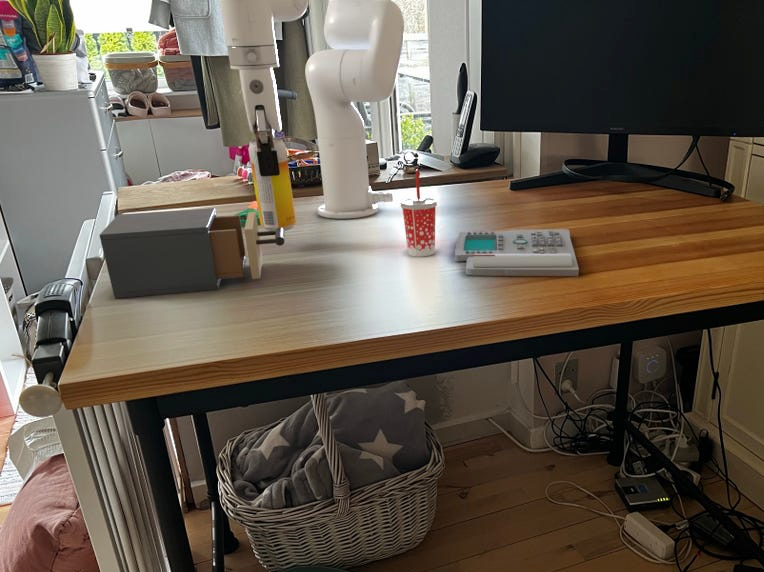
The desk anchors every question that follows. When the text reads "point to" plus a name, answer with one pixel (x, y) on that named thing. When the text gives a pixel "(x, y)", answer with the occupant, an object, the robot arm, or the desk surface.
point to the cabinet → (160, 253)
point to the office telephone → (517, 253)
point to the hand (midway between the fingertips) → (270, 170)
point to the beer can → (273, 191)
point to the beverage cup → (419, 223)
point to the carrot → (252, 208)
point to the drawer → (239, 245)
